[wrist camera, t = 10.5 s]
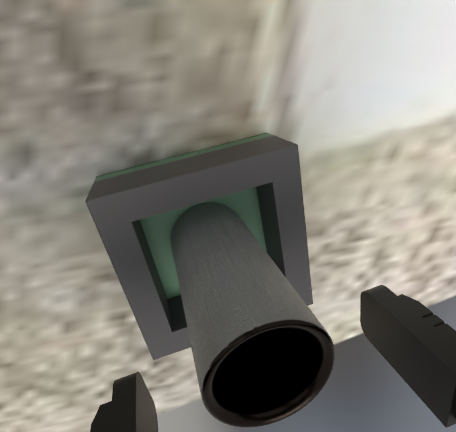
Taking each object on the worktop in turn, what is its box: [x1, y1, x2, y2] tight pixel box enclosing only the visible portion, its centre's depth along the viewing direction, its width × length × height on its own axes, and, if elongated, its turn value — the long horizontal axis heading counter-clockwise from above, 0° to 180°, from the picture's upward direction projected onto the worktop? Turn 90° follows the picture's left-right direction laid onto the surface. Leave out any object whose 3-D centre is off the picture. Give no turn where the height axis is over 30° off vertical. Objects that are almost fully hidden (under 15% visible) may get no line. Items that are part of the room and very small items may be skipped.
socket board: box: [85, 133, 313, 360], centre depth 18 cm, size 10×10×4 cm
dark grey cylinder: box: [171, 203, 335, 427], centre depth 14 cm, size 4×4×10 cm
